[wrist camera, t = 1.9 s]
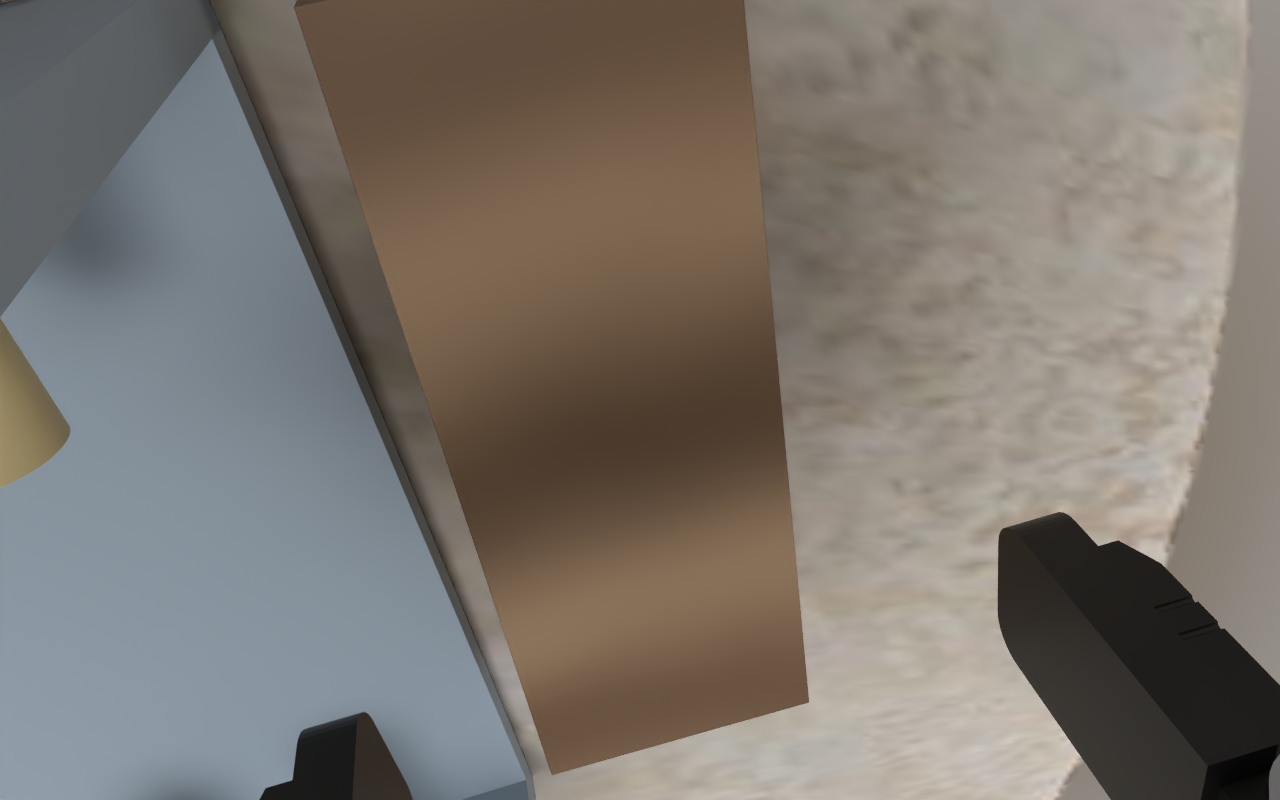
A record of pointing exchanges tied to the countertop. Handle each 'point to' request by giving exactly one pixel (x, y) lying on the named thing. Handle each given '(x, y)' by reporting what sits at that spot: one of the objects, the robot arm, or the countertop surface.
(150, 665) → the peg stand
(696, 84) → the walnut board
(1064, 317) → the countertop surface
